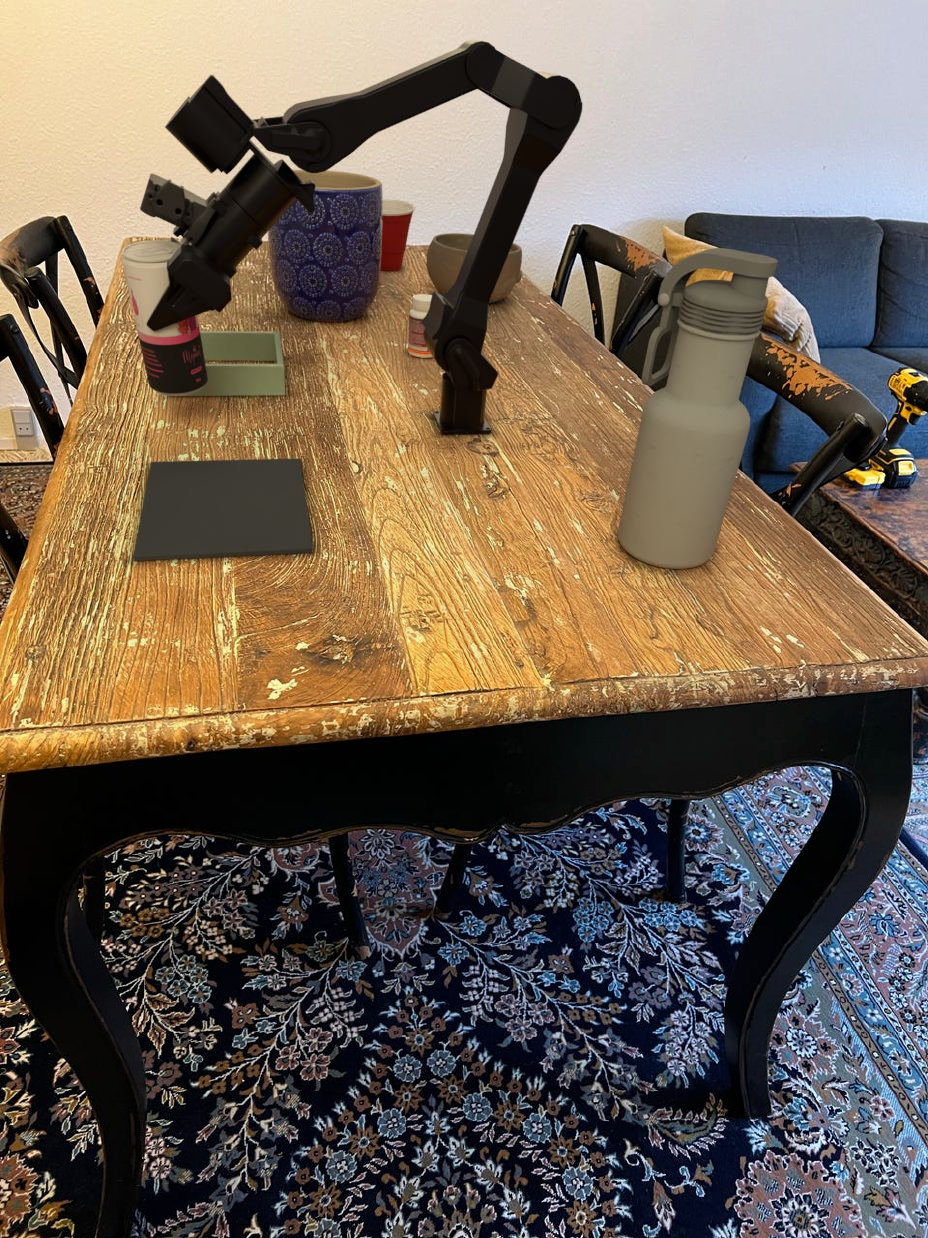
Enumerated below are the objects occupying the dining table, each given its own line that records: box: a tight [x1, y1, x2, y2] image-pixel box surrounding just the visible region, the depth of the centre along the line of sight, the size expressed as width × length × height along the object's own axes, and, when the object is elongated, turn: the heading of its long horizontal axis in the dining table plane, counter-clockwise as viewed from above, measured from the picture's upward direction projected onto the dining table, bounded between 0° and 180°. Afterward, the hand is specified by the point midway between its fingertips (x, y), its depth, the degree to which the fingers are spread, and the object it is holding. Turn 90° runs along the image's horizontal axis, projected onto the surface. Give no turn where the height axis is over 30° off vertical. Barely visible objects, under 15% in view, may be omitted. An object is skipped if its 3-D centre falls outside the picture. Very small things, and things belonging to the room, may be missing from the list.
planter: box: [267, 169, 384, 323], centre depth 137 cm, size 18×18×21 cm
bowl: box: [425, 232, 523, 305], centre depth 155 cm, size 17×18×10 cm
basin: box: [183, 330, 286, 397], centre depth 114 cm, size 15×15×4 cm
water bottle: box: [617, 247, 779, 570], centre depth 77 cm, size 10×10×28 cm
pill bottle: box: [407, 293, 433, 359], centre depth 127 cm, size 5×5×8 cm
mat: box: [132, 458, 314, 562], centre depth 85 cm, size 20×16×1 cm
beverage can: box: [121, 239, 208, 397], centre depth 92 cm, size 6×6×15 cm
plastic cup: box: [380, 198, 416, 272], centre depth 169 cm, size 11×11×12 cm
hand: (151, 318), depth 91 cm, fingers closed on beverage can, 6 cm apart
